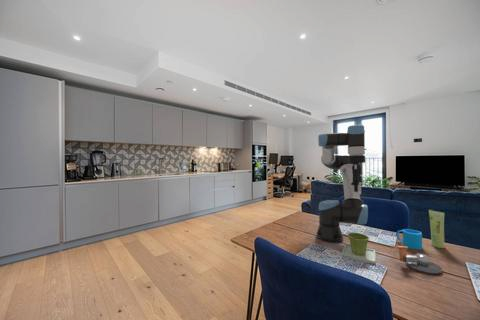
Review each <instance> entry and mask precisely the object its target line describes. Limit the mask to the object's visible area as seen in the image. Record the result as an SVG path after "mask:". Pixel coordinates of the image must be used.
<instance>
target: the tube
mask: <svg viewBox="0 0 480 320" xmlns="http://www.w3.org/2000/svg"><path fill="white" fill-rule="evenodd" d="M428 215H429V225H430V226H429V227H430V239H431V246H433V247H434V248H440V249H444V248H445V212H441V211H436V210H433V209H428Z"/></svg>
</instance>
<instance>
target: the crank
mask: <svg viewBox="0 0 480 320" xmlns="http://www.w3.org/2000/svg"><path fill="white" fill-rule="evenodd" d="M396 248H397V249H399V251H398V254H399V261H401V262H403V263H405V262H416V263H417V264H419V265H422V266H429V261H430V256H429V255H426V254H424V253H420V252H419V253H415V255H408V254H407V250H409V248H408V247H407V246H404V245H403V246H401V245H397V246H396Z"/></svg>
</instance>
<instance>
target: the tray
mask: <svg viewBox="0 0 480 320" xmlns="http://www.w3.org/2000/svg"><path fill="white" fill-rule="evenodd" d="M341 257H342V258H346V259H350V260H354V261H360V262H363V263H367V264H370V265H371V264H372V265H376V250H375V249H373V248H368V247H366V254H365V255H356V254H354V253H353V252H352V250H351V244H349V243H348V244H347V243H344V246H343V248H342V252H341Z"/></svg>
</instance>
